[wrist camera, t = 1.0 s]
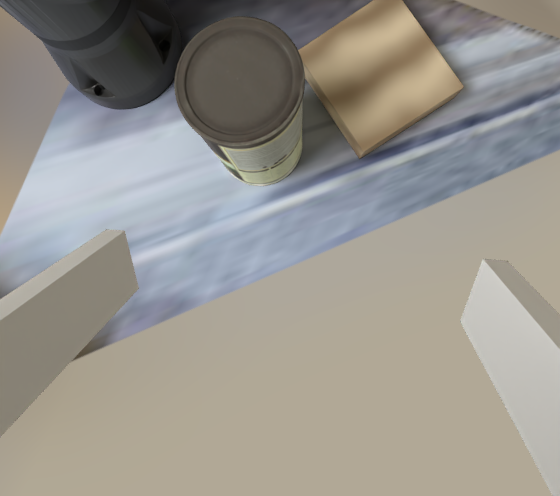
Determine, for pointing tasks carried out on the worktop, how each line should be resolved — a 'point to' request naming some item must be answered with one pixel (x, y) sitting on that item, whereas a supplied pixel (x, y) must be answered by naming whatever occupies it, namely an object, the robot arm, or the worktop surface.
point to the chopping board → (378, 74)
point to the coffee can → (244, 97)
